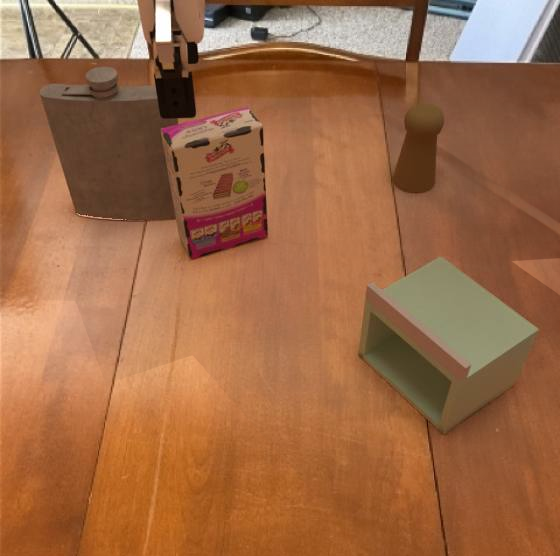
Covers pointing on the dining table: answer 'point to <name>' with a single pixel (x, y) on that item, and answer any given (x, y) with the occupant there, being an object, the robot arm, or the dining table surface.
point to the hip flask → (111, 147)
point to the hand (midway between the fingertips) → (180, 88)
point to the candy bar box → (217, 181)
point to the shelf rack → (443, 342)
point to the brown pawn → (419, 149)
